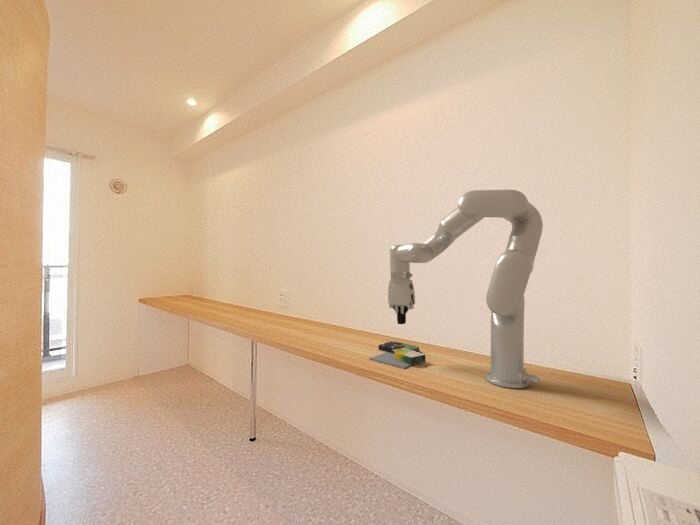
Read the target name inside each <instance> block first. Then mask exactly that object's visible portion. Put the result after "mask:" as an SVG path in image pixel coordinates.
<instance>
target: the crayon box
mask: <svg viewBox="0 0 700 525" xmlns="http://www.w3.org/2000/svg"><path fill="white" fill-rule="evenodd" d="M400 349H401V350H398V349H395V350H392V351H394V358H395V359H398V360H400V361H403V362H405V363H408V364H410V365H412V366H414V365H417V364H422V363H426V354H424V353H421V352H420V351H419V352H416V351H413V350H410V349H407V348H400ZM413 364H414V365H413Z"/></svg>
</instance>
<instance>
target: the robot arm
mask: <svg viewBox="0 0 700 525" xmlns="http://www.w3.org/2000/svg"><path fill="white" fill-rule="evenodd" d="M484 218H499V219H500V218H501V219H504V220H506V221H508V222H510V224H511V232H510V234H509V237H508V242H507V244H506V249H505V251H504V252H502V253H501V254H500V255H499V256H498V258H497V260H496V261H495V264H494V267H493V271H492V275H491V278H490V282H489V284H488V289H487V292H486V298H485V301H486V302H485V303H486V305H487V307H488V309H489V311H491V312H490V371H488V372H486V373H485V380H486V381H487V382H489V383H490V384H494V386H495V385H496V386H498V387H503V388H508V389H524V388H528V387H529V386H530V383H533V384H537V385H539V384H540V381H541V380H540V377H539V376H537V375H536V374H531V373H529V372H528V371H527V368H525V367H524V366H525V365H524V364H525V363H524V361H525V359H524V357H525V355H524V354H525V352H524V349H525V348H524V346H525V338H524V337H525V336H524V335H525V334H524V333H525V302H526V301H525V292H526V289H527V285H528V282H529V279H530V275H531V274H532V272H533V270H534V266H535V264H534V263H535V259H536V256H537V252H538V249H539V246H540V241H541V237H542V233H543V218H542V215H541V214H540V212H539V210H538V209H537V207H535V206H534V205H533V204H532V203H531V202H529V200H528V198H527V196H526V195H525V194H524V193H523V192H522V191H519V190H517V189H480V190H478V189H476V190H474V189H473V190H469V191H467V192H465V193H463V195H461V197H460V198H459V200H458V202H457V207H456V208H455V209H453V210H452V211H451V212H450V213H448V214H447V215H446V216H444V217H443V218H442V219H441V220H440V221H439V223H438V228H437V230H436V232H434V234H433V235H432V236H431V237H430V238H429V239H427V240H426V241H425V242H423V243H420V242H419V243H418V242H413V243H408V244H396V245H392V246H391V247H389V263H390V264H389V266H390V267H389V269H390V273H389V274H390V280H389V281H388V282H389V283H388V286H387V287H388V288H387V301H388V304H389V305H388V308H390V309H392V310H394V312H395V313H396V318H397V320H396V321H397V324H398V325H404V324H406V322H407V313H408V311H410V310H413V309H414V308H415V307H414V306H415V305H416V296H415V295H416V294H415V287H414V283H413V280H412V279H411V278H412V277H413V273H411V270H410V268H411V266H410V263H411V264H412V263H413V264H427V263H429V262H431V261H432V260H434V259H435V258H436V257H438V256H439V255H441V254H442V253H443V252H445V250H447V249H448V248H449V247H450V246H451V245H452V244H453V243H454V242H455V241H456V240H457V239H458V238H459V237H460V236H462V235H463V234H464V233H466V232H467V231H468V230H470V229H471V228H473V227H474V226H475V225H477V224H478V223H479V222H481V221H482V220H483V219H484Z"/></svg>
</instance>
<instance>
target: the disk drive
mask: <svg viewBox="0 0 700 525" xmlns="http://www.w3.org/2000/svg"><path fill="white" fill-rule="evenodd" d="M400 348H407V349H410V350H413V351H416V352H419V353H420V347H419V346H416V345H411V344H407V343H402V342H397V341H394V340H393V341H387V342H385V343H383V344H382V343H381V344H378V350H379V351H382V352H384V353H386V352H389V353H393V354H394V351H392V350H395V349H398V350H401V349H400Z"/></svg>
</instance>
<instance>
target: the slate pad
mask: <svg viewBox="0 0 700 525" xmlns="http://www.w3.org/2000/svg"><path fill="white" fill-rule="evenodd" d="M369 360H370V361H373V362H378V363H380V364H384V365H388V366H392V367H396V368H399V369H404V370H405V369H407V368H410V367H411V366H414V365H415V364H413V365H410V364H408V363H405V362H403V361H400V360H398V359H395V358H394V354H393V353H389V352H383V353H380V354H377V355H375V356H371V357H369Z"/></svg>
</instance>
